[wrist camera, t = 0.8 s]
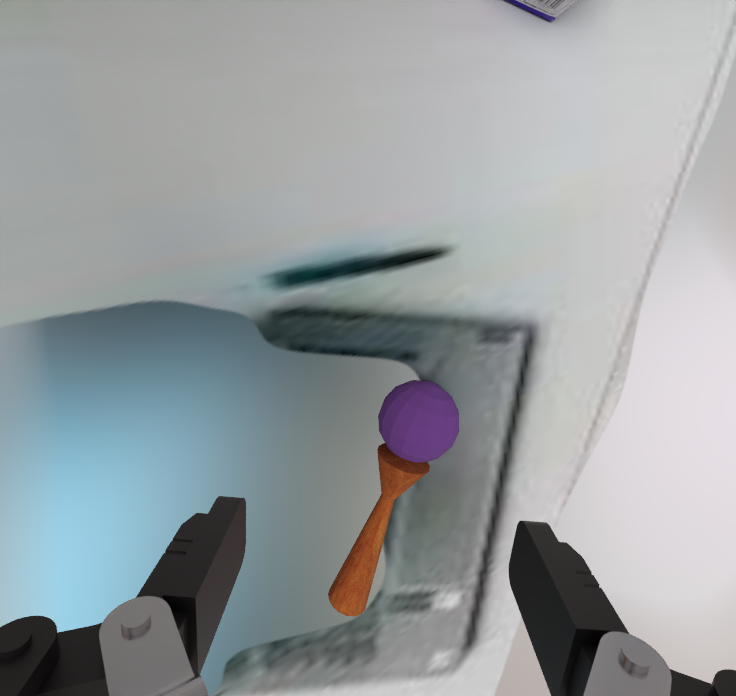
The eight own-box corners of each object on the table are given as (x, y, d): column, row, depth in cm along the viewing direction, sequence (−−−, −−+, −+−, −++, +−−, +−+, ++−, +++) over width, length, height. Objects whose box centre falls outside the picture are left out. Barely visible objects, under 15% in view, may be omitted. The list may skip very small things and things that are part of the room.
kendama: (308, 620, 34) (397, 386, 29) (316, 563, 40) (392, 360, 35) (382, 639, 35) (481, 413, 30) (379, 581, 40) (461, 383, 36)
